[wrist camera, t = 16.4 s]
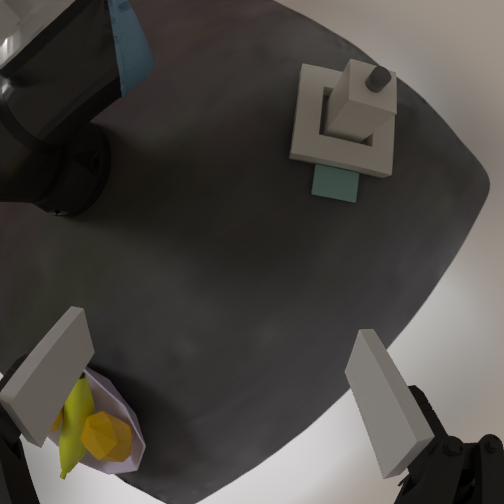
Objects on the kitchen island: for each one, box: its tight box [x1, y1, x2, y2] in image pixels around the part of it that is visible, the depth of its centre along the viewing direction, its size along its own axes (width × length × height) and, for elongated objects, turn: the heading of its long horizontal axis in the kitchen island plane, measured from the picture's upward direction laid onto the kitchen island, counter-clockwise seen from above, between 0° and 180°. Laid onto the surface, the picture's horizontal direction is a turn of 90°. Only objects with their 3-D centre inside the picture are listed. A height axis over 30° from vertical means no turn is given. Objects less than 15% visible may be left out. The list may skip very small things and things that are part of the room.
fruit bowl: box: [47, 366, 146, 479], centre depth 36 cm, size 28×27×11 cm
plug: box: [323, 59, 397, 143], centre depth 27 cm, size 5×5×14 cm
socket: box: [289, 64, 395, 203], centre depth 34 cm, size 17×13×4 cm
